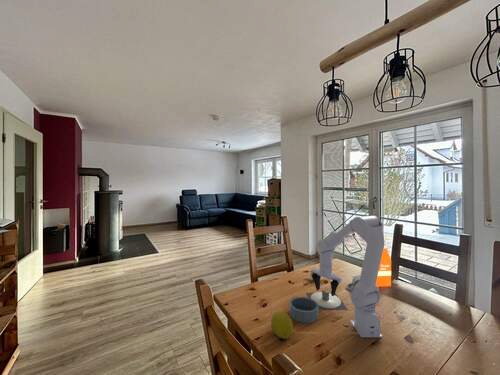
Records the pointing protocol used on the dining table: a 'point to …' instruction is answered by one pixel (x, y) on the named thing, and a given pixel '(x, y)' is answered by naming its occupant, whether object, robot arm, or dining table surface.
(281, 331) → the lemon
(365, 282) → the robot arm
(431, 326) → the dining table surface
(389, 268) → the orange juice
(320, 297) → the white lid
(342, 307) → the rubber mat
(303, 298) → the blue pet bowl
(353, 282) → the ceramic mug
